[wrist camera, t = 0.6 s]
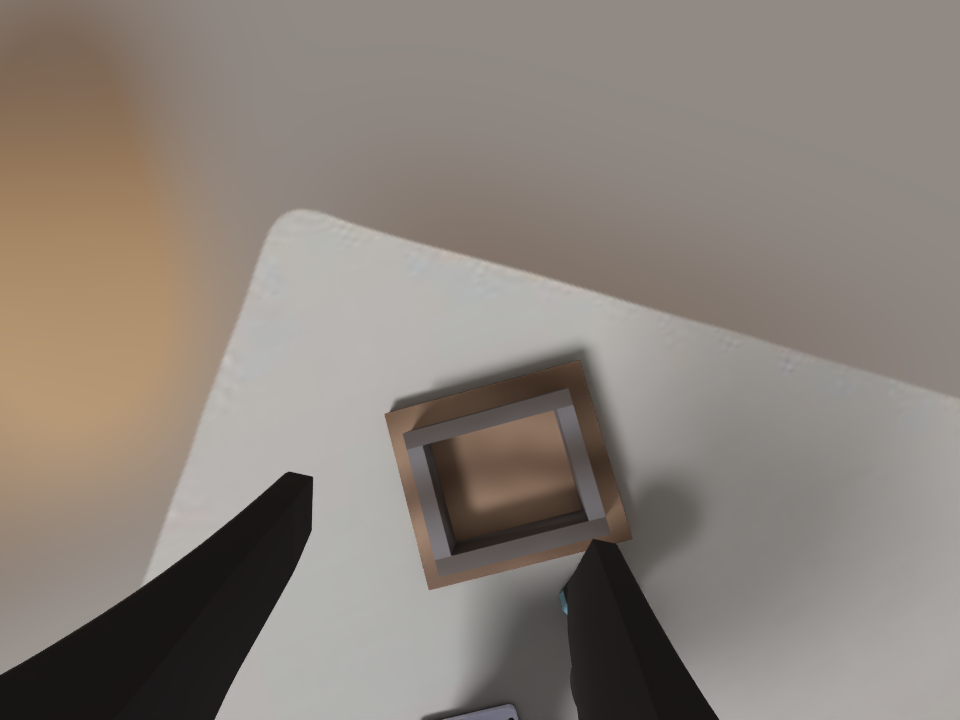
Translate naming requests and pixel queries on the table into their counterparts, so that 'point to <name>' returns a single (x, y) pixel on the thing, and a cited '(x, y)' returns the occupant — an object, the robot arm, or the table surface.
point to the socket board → (506, 475)
